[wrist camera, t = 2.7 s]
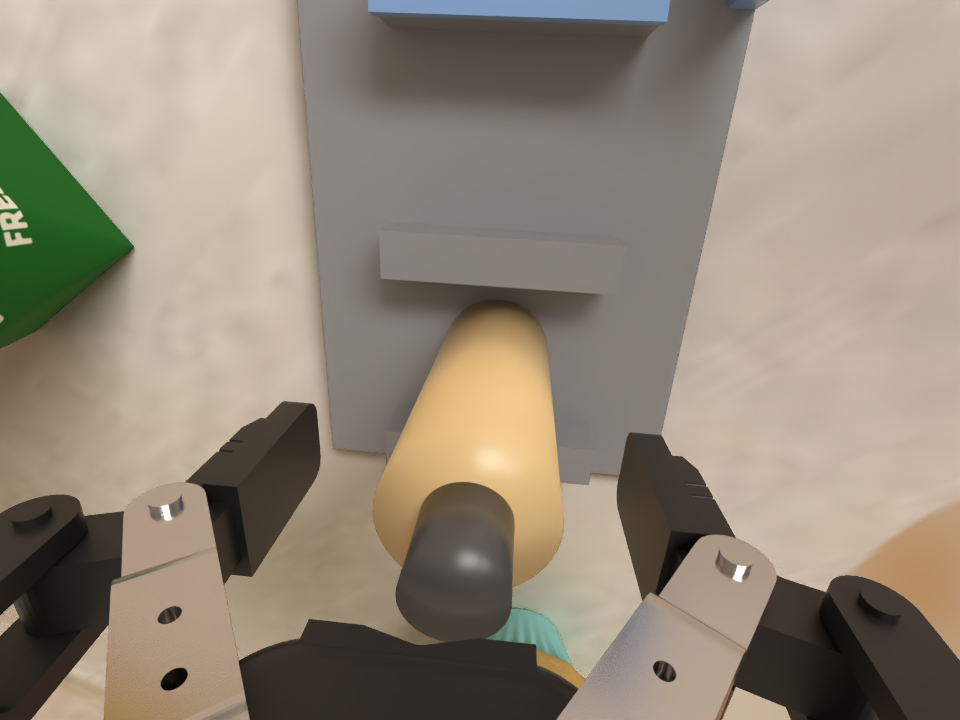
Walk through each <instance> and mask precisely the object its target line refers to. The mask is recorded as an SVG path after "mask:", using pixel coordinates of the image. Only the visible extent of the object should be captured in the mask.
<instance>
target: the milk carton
mask: <svg viewBox="0 0 960 720" xmlns="http://www.w3.org/2000/svg"><path fill="white" fill-rule="evenodd" d="M133 247H134V246H133V245H132V244H131V243H130V242H129V240H128V239H127V238H126V237H125V236H124V235H123V234H122V232H121V231H120V230H119V229H118V228H117V227H116V225H115V224H114V223H113V222H112V221H111V220H110V219H109V217H108V216H107V215H106V214H105V213H104V212H103V210H102V209H101V208H100V207H99V206H98V205H97V204H96V202H95V201H94V200H93V199H92V198H91V197H90V196H89V194H88V193H87V192H86V191H85V190H84V189H83V187H82V186H81V185H80V184H79V183H78V182H77V181H76V179H75V178H74V177H73V176H72V175H71V174H70V172H69V171H68V170H67V169H66V168H65V167H64V166H63V164H62V163H61V162H60V161H59V160H58V159H57V157H56V156H55V155H54V154H53V153H52V152H51V151H50V149H49V148H48V147H47V146H46V145H45V144H44V143H43V141H42V140H41V139H40V138H39V137H38V136H37V134H36V133H35V132H34V131H33V130H32V129H31V128H30V126H29V125H28V124H27V123H26V122H25V121H24V119H23V118H22V117H21V116H20V115H19V114H18V113H17V111H16V110H15V109H14V108H13V107H12V106H11V104H10V103H9V102H8V101H7V100H6V99H5V98H4V96H3V95H2V94H1V93H0V348H2V347H4V346H6V345H8V344H10V343H12V342H14V341H16V340H18V339H20V338H22V337H25V336H27V335H29V334H31V333H33V332H35V331H36V330H37V329H39V328H40V327H41V326H42V325H43V324H44V323H46V322H47V321H48V320H49V319H50V318H51V317H53V316H54V315H55V314H56V313H57V312H58V311H60V310H61V309H62V308H63V307H64V306H65V305H67V304H68V303H69V302H70V301H71V300H72V299H74V298H75V297H76V296H77V295H78V294H79V293H80V292H82V291H83V290H84V289H85V288H86V287H87V286H89V285H90V284H91V283H92V282H93V281H94V280H96V279H97V278H98V277H99V276H100V275H101V274H103V273H104V272H105V271H106V270H107V269H108V268H110V267H111V266H112V265H113V264H114V263H115V262H117V261H118V260H119V259H120V258H121V257H122V256H124V255H125V254H126V253H127V252H128V251H129V250H131V249H132V248H133Z"/></svg>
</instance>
